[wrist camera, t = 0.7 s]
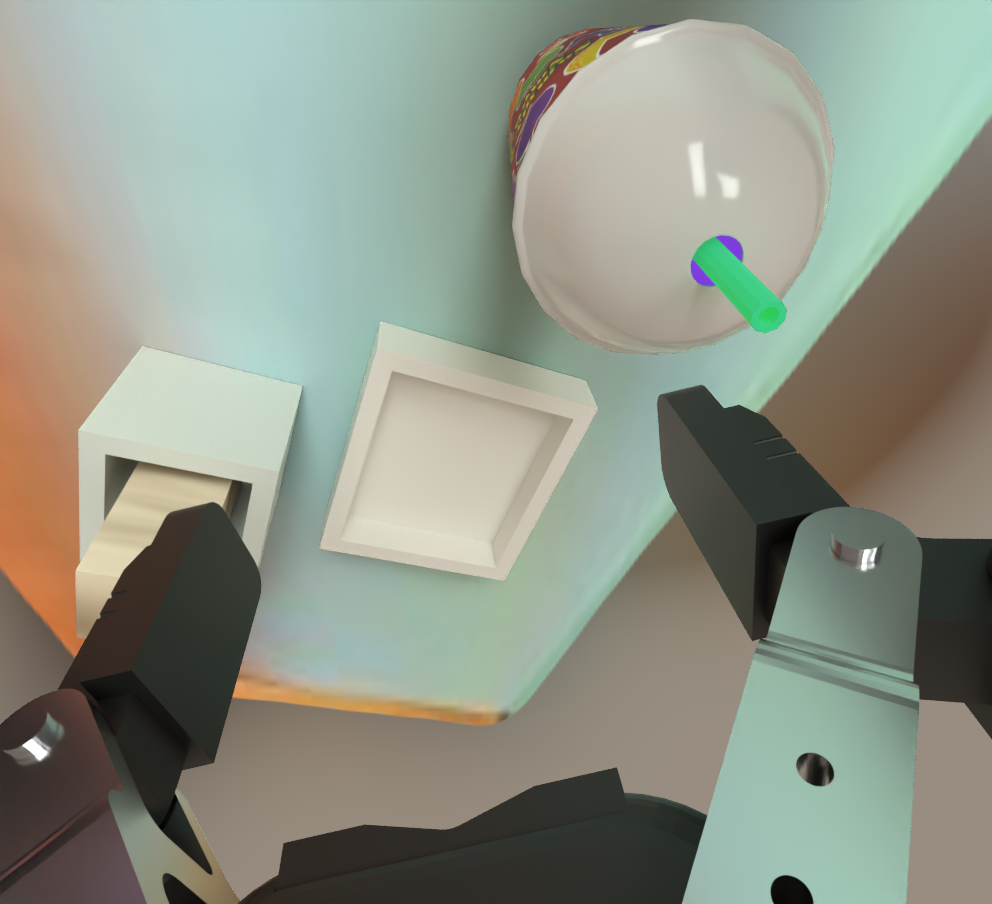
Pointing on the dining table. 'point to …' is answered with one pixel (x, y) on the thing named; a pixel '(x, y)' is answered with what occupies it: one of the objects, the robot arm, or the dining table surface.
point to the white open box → (189, 436)
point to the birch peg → (140, 528)
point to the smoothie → (667, 182)
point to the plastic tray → (451, 455)
